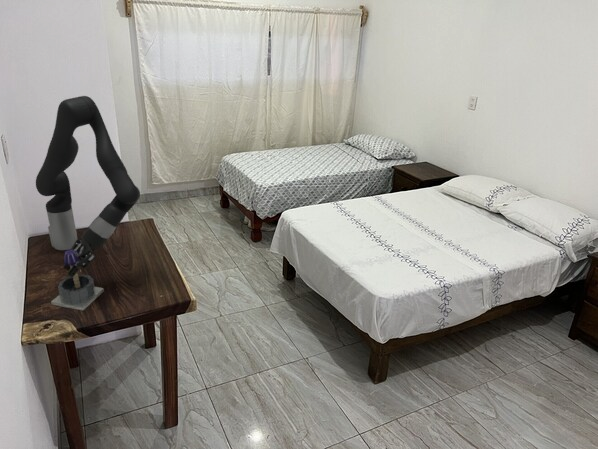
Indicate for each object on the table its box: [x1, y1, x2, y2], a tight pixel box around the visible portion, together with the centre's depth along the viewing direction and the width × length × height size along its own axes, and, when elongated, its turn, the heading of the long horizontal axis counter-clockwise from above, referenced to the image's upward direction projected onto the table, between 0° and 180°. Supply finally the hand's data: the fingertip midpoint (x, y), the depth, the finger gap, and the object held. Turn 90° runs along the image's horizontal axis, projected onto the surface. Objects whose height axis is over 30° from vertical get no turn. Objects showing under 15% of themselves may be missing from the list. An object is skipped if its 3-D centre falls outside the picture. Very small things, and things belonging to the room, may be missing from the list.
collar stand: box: [50, 273, 105, 311], centre depth 151 cm, size 12×12×6 cm
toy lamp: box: [63, 249, 83, 290], centre depth 148 cm, size 5×5×17 cm
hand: (67, 271), depth 147 cm, fingers open, 4 cm apart
